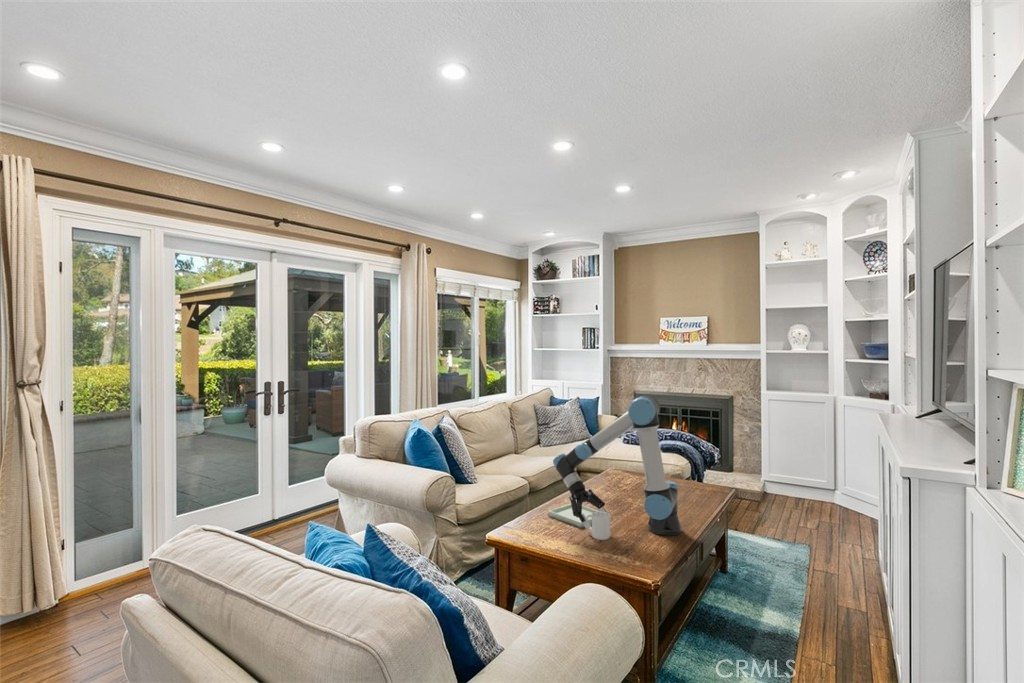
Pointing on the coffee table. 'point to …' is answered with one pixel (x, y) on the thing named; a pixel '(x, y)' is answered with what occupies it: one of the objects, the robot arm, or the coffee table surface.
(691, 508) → the coffee table surface
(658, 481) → the robot arm
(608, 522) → the cup
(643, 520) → the coffee table surface
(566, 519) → the sage tray
